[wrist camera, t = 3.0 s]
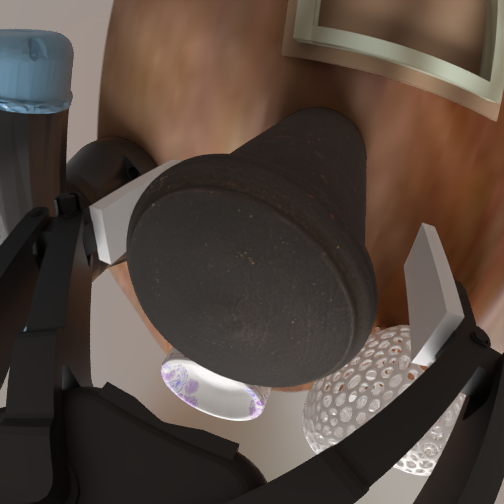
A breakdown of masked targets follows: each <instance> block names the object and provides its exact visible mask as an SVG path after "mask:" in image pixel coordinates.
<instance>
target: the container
mask: <svg viewBox="0 0 504 504" xmlns="http://www.w3.org/2000/svg"><path fill="white" fill-rule="evenodd" d="M366 160H367V157H366V150H365V145H364V142H363V139H362V136H361V134H360V133H359V131H358V129H357V128H356V127H355V125H354V124H353V123H352V122H351V121H350V120H349V119H348V118H346V117H345V116H344V115H342V114H341V113H339V112H337V111H334V110H331V109H327V108H320V107H313V108H307V109H303V110H300V111H298V112H296V113H293V114H292V115H290V116H288V117H287V118H285V119H283V120H282V121H281V122H279V123H277V124H276V125H274V126H272V127H271V128H269V129H268V130H266V131H265V132H263V133H261V134H260V135H258V136H256V137H255V138H253V139H252V140H250V141H248V142H247V143H245V144H244V145H242V146H241V147H239V148H238V149H236V150H235V151H233V152H232V153H230V154H208V155H201V156H196V157H193V158H190V159H186V160H184V161H181V162H179V163H177V164H175V165H173V166H172V167H170V168H168V169H167V170H165V171H164V172H162V173H161V174H160V175H159V176H158V177H156V178H155V179H154V180H153V181H152V182H151V183H150V184H149V185H148V187H147V188H146V189H145V190H144V192H143V193H142V195H141V196H140V198H139V200H138V201H137V203H136V205H135V207H134V209H133V212H132V215H131V217H130V221H129V225H128V231H127V238H126V256H127V264H128V270H129V274H130V278H131V281H132V284H133V287H134V290H135V293H136V296H137V298H138V300H139V303H140V305H141V307H142V309H143V310H144V312H145V314H146V315H147V317H148V318H149V320H150V321H151V323H152V324H153V325H154V327H155V328H156V329H157V330H158V331H159V333H160V334H161V335H162V336H163V337H164V338H165V339H166V340H167V341H168V342H169V343H170V344H171V345H172V346H173V347H174V348H175V349H177V350H178V351H179V352H180V353H182V354H183V355H184V356H186V357H187V358H189V359H190V360H192V361H193V362H195V363H196V364H198V365H200V366H202V367H204V368H205V369H207V370H209V371H211V372H213V373H215V374H218V375H220V376H223V377H225V378H228V379H231V380H234V381H238V382H241V383H245V384H249V385H257V386H263V387H293V386H298V385H302V384H306V383H309V382H312V381H315V380H319V379H321V378H324V377H327V376H329V375H331V374H333V373H335V372H336V371H338V370H340V369H341V368H343V367H344V366H345V365H347V364H348V363H349V362H350V361H351V360H352V359H354V358H355V357H356V356H357V354H358V353H359V352H360V351H361V349H362V348H363V346H364V345H365V343H366V341H367V340H368V338H369V335H370V333H371V330H372V328H373V325H374V322H375V318H376V314H377V304H378V292H377V283H376V278H375V273H374V269H373V266H372V263H371V259H370V257H369V254H368V252H367V249H366V247H365V216H366V168H367V167H366Z"/></svg>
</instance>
